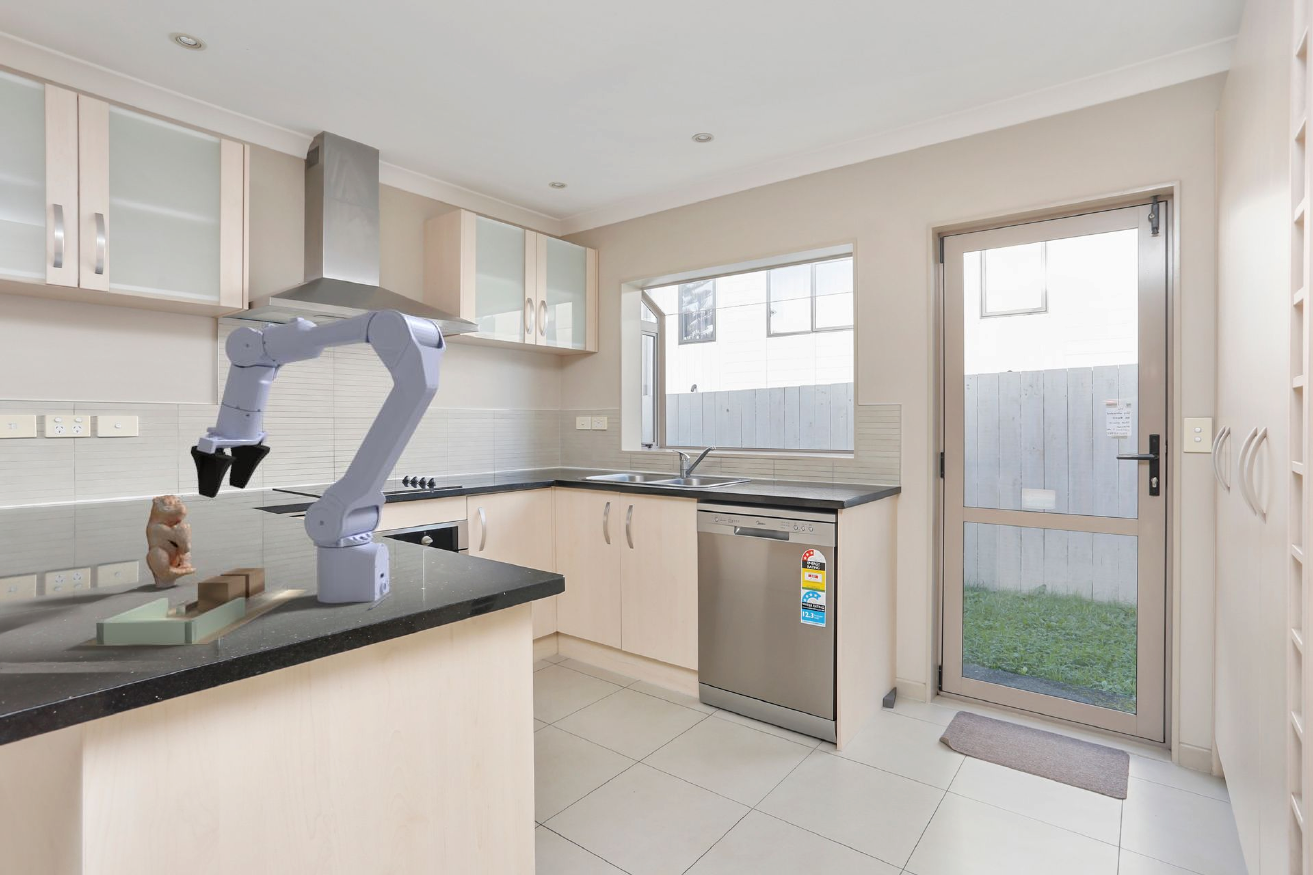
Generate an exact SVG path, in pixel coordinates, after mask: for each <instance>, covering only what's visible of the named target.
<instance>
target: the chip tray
mask: <svg viewBox="0 0 1313 875" xmlns="http://www.w3.org/2000/svg"><path fill="white" fill-rule="evenodd" d="M168 609H169V598H168V597H161V598H159V599H157V600H153V601H152V602H148V603H145V604H143V605H140V606H138V607H135V608H131V609H130V610H127V611H124V612H121V613H119V614H117V615H114V616H112V617H108V618H107V619H103V620H101V621H98V622H96V624H95V625H96V626H95V628H96V639H97V645H109V644H192V643H194V642H196V641H198V640H200V639H202V638H204V637H206V636H208V635H210V634H212V633H214V632H216V631H217V630H219V629H221V628H223V627H225V626H227V625H229V624H231V623H233V622H235V621H237V620H239V619H241V618H243V617H245V597H243V598H237V599H235V600H232V601H230V602H228V603H226V604H224V605H221V606H219V607H217V608H215V609H213V610H210V611H208V612H206V613H204V614H201V615H199V616H197V617H195V618H193V619H190V620H163V619H165V618H167V617H168ZM109 646H110V645H109Z"/></svg>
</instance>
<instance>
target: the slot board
mask: <svg viewBox="0 0 1313 875" xmlns="http://www.w3.org/2000/svg"><path fill="white" fill-rule="evenodd" d="M308 591H309V589H290V590H289V591H287V592H285V593H283V594H281V595H279V596H277V597H274V598H272V599H270V600H268V601H266V602H264V603H262V604H260V605H258V606H256V607H254V608H252V609H250V610H248V611H246V612H245V617H243V618H241V619H239V620H237V621H235V622H233V623H231V624H229V625H227V626H225V627H223V628H221V629H219V630H217V631H216V632H214V633H212V634H210V635H208V636H206V637H204V638H202V639H200V640H198V641H196V642H194V643H192V644H109V645H97V638H95V639H92V640H89V641H86V642H85V643H83V644H80V645H79V646H80V647H82V646H83V647H87V646H89V647H91V646H94V647H95V646H97V647H98V646H99V647H100V646H102V647H103V646H104V647H105V646H166V645H167V646H175V645H177V646H178V645H179V646H180V645H182V646H183V645H184V646H185V645H186V646H187V645H191V646H192V645H209V644H210V643H212V642H213V641H215V640H217V639H219V638H221V637H222V636H225V635H226V634H229V633H231V632H232V631H234V630H236V629H238V628H240V627H241V626H243V625H245V624H247V623H250V622H252V621H253V620H254V619H257V618H259V617H260V616H262V615H264V614H267V613H269V612H270V611H272V610H274V609H275V608H277V607H279V606H281V605H283V604H285V603H287V602H289V601H290V600H293V599H295V598H297V597H298V596H300V595H302V594H304V593H305V592H306V593H307V592H308ZM176 606H177V605H175V606H173V607H170V608H168V617H167V618H165V619H163V620H190V619H193V618H195V617H197V616H199V615H201V614H204V613H206V612H198V609H197V610H195V611H193V612H190V613H188V614H186V615H176Z"/></svg>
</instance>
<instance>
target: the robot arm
mask: <svg viewBox="0 0 1313 875" xmlns="http://www.w3.org/2000/svg"><path fill="white" fill-rule="evenodd" d="M289 321H290V322H287V323H283V324H277V325H275V324H271V323H268V324H264V325H263V328H260V329H254V328H252V327H249V326H245V325H242V326H240V327H239V328H235V329H234V330H232V331H231V332H230V333H229V334H228V336H227V338H226V340H225V344H224V346H225V348H224V349H225V354H226V357H227V358H228V361H230V367H229V370H228V375H227V378H226V382H225V386H224V391H223V394H222V399H221V403H220V406H219V407H220V408H219V411H218V416H217V420H216V423H215V426H209V427H207V429H206V432H207V434H206V435H204V436H201V437H200V436H199V439H198V443H197V445H192V446H191V448H190V454H191V457H192V459H193V462H194V465H195V467H196V468H195V469H196V475H197V490H198V495H200V496H203V497H206V498H210V499H213V498H215V497H216V496H217V494H218V493H219V491H220V488H221V486H222V483H223V480H224V478H225V475H226V473H227V472H228V470H229V469H230V472H229V480H228V483H229V486H230V487H234V488H238V489H240V490H243V489H245V488H246V486H247V484H248V483H249V482H250V479H251V477H252V475H253V474H254V473H255V471H256V469H257V467H258V466H259V464H260V463H261V462H262V460H263V459H264V458H265V457H266V456H267V455H268V454H269V453H270V451H271V447H270V446H268V445H264V444H266V442H267V439H268V437H269V436H268V435H269V431H267V430H263V429H261V427H262V423H263V419H264V415H265V412H266V411H265V410H266V407H267V403H268V399H269V396H270V391H271V387H272V384H273V381H274V380H275V379H277V376H278V372H279V370H280V369H281V368H283V367H284V366H285V364H291V363H296V362H301V361H306V360H308V361H309V360H313V359H317V358H319V357H320V356H321V355H322V354H323V352H324V351H325V349H327V348H332V347H333V348H334V347H342V346H348V345H356V344H368V345H369V344H370V345H371V347H372V349H373V350H374V352H375V353H376V355H377V356H378V357H379V359H380V360H381V362H382V363H383V365H384V367H386V369H387V371H388V372H389V373H390V376H391V379H392V381H393V387H392V389H391V391H389V394H388V396H387V398H386V399H385V401H384V403H383V405H382V406H381V408H380V410H379V412H378V414H377V416H376V418H374V421H373V423H372V424H371V426H370V428H369V430H368V431H367V434H366V435H365V437H364V439H363V441H362V442H361V444H360V446H359V448H358V450H357V451H356V453H355V455H354V456H353V459H352V460H351V462H350V465H349V466H348V468H347V469H346V471H345V474H344V476H343V477H341V478H340V479H338V480H337V481H336V482H334V483H333V484H331V485H330V486H329V487H327V488H326V489H325V490H324V492H323V494H322V495H321V496H320V498H319V499H318V500H317V501H315V502H314V503H311V505H309V507H308V508H307V510H306V511H305V515H304V518H303V519H304V520H303V521H304V522H303V523H304V524H303V526H304V529H305V532H306V534H307V536H308V537H309V538H310V540H312V541H313V547H316V586H317V587H316V595H317V596H316V598H317V601H318V602H321V603H326V604H338V603H339V604H340V603H343V604H344V603H353V602H355V603H356V602H357V603H359V602H361V603H362V602H366V603H367V602H371V603H372V602H376V603H374V604H373V605H372V606H370V607H369V609H374V607H376V606H377V605H378V604H380V603H382V602H383V601H385V599H387V598H388V597H389V596H392V592H390V552H389V548H388V545H387V544H386V543H383V542H373V541H372V539H374V531H376V530H377V528H378V527H379V525H380V523H381V520H382V511H383V510H382V509H383V506H384V505H385V504H386V501H387V498H386V496H385V495H384V493H383V491H382V490H383V488H384V486H385V484H386V482H387V480H388V479H389V477H390V475H391V473H392V472H393V470H394V468H395V466H396V465H397V462H398V461H399V459H400V458H401V456H402V454H403V452H404V450H405V448H406V447H407V445H408V443H409V441H410V440H411V439H412V436H413V434H414V433H415V432H416V430H417V428H418V426H419V424H420V423H421V420H422V419H423V417H424V415H425V413H426V411H427V410H428V408H429V406H430V404H431V402H432V401H433V399H434V397H435V395H436V394H437V391H438V389H439V382H440V373H441V372H440V370H441V361H442V360H441V359H442V356H443V354H444V353H445V351H446V350H447V344H446V342H445V339H444V337H443V333H442V330H441V328H440V327H439V326H438V324H437V323H436V322H434V321H433V320H431V319H428V318H420V317H418V316H417V317H416V316H413V315H409V314H406V313H402V312H401V311H398V310H396V309H391V308H390V309H389V308H387V309H383V310H379V311H378V310H370V311H367V312H365V313H363V314H359V315H355V316H352V317H347V318H343V319H339V320H335V321H331V322H328V323H323V324H319V325H318V324H316V323H314V322H312V321H311V320H306V319H304V318H302V317H298V316H297V317H291V318H290V320H289ZM225 449H229V450H230V454H231V455H229V454H226V452H227V451H225ZM389 592H390V593H389ZM387 593H388V594H387ZM386 594H387V595H386ZM383 596H384V597H383ZM382 597H383V598H382ZM380 598H381V599H380Z"/></svg>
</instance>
